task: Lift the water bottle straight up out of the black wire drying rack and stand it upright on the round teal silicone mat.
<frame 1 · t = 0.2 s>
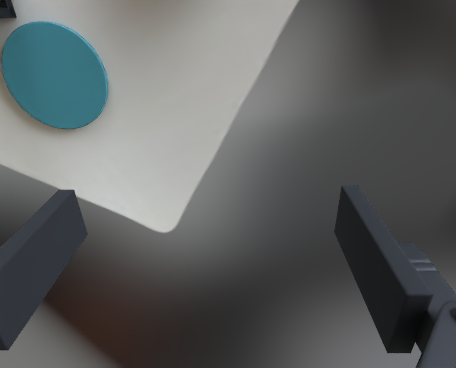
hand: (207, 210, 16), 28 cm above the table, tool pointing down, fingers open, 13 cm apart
mat: (57, 78, 40), on the table
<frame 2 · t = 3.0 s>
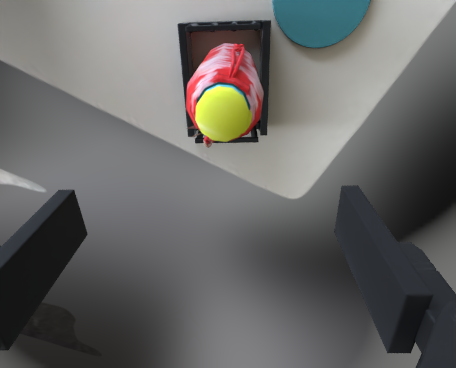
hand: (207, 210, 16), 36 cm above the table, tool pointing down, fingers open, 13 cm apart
water bottle: (226, 78, 48), resting in rack
rack: (226, 78, 48), on the table
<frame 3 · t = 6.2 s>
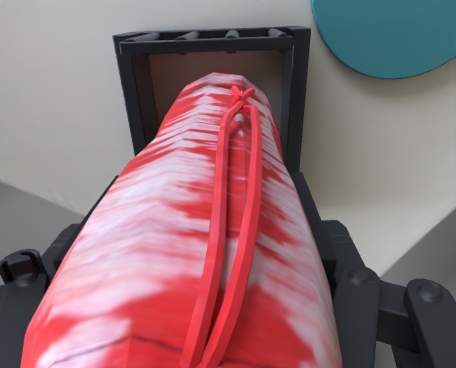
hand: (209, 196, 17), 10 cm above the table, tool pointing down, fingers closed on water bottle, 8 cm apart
water bottle: (219, 131, 26), resting in rack, touching gripper
rack: (219, 132, 26), on the table
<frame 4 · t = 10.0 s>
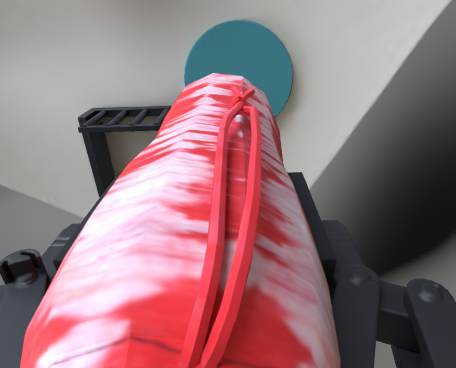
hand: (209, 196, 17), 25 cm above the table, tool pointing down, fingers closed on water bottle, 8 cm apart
water bottle: (219, 132, 26), point 15 cm above the table, touching gripper
rack: (146, 161, 44), on the table
mat: (238, 80, 38), on the table
when the fingers open (11 cm above the table, at t = 13.8 s): water bottle stays where it is, resting on mat.
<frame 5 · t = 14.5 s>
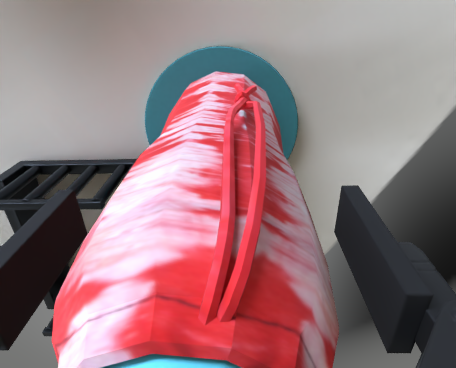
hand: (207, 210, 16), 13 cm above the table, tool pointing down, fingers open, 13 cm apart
water bottle: (221, 129, 27), resting on mat
rack: (101, 227, 33), on the table
mat: (221, 127, 27), on the table
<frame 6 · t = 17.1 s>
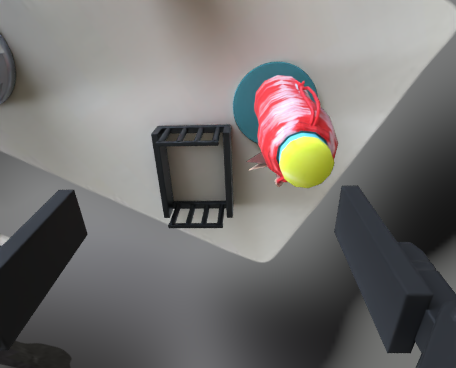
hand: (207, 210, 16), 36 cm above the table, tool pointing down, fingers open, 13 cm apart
water bottle: (275, 106, 49), resting on mat
rack: (197, 168, 55), on the table
mat: (274, 106, 49), on the table
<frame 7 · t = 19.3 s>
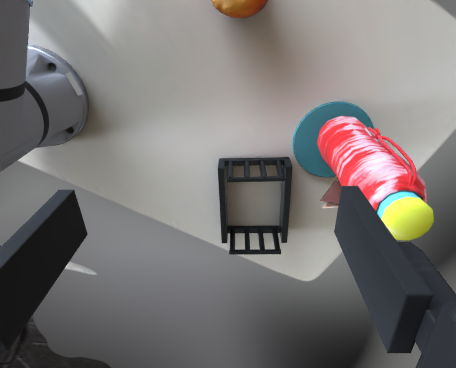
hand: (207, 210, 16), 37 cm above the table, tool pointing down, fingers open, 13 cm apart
water bottle: (333, 141, 52), resting on mat
rack: (253, 196, 58), on the table
mat: (332, 140, 52), on the table
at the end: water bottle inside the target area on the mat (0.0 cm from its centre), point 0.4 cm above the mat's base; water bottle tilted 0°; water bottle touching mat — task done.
